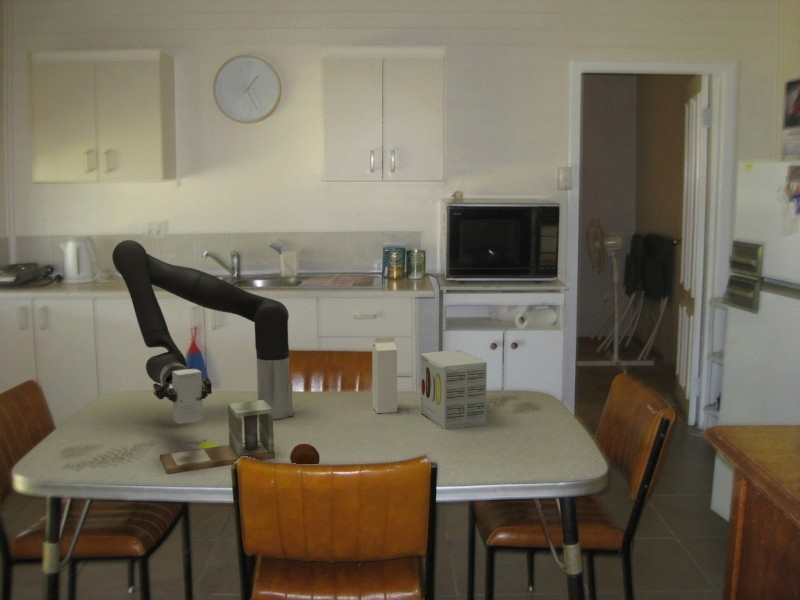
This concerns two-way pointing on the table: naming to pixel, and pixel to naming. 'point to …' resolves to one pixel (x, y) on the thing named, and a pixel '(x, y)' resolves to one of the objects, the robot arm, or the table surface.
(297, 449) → the potato
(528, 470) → the table surface
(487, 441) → the table surface
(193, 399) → the skincare box
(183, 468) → the board
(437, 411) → the supplement box
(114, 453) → the table surface
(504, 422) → the table surface
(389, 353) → the milk
